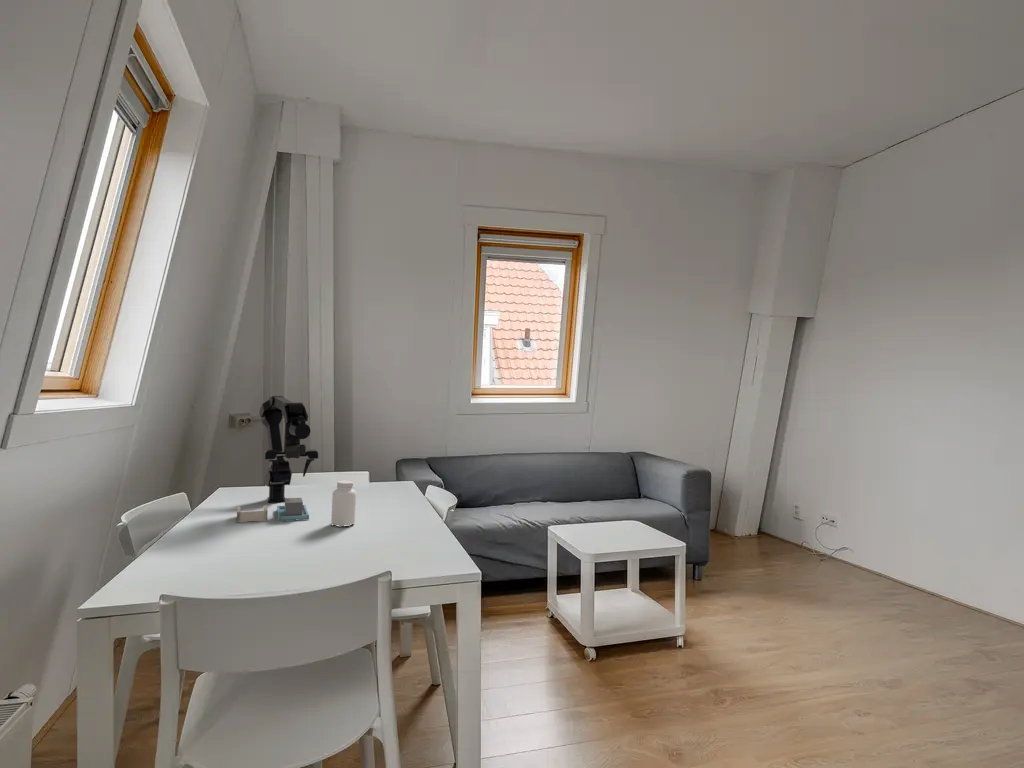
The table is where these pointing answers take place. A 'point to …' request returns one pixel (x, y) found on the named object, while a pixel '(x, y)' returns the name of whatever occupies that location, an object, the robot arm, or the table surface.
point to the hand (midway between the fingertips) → (290, 476)
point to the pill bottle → (343, 504)
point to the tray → (304, 515)
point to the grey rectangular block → (293, 506)
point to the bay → (251, 515)
